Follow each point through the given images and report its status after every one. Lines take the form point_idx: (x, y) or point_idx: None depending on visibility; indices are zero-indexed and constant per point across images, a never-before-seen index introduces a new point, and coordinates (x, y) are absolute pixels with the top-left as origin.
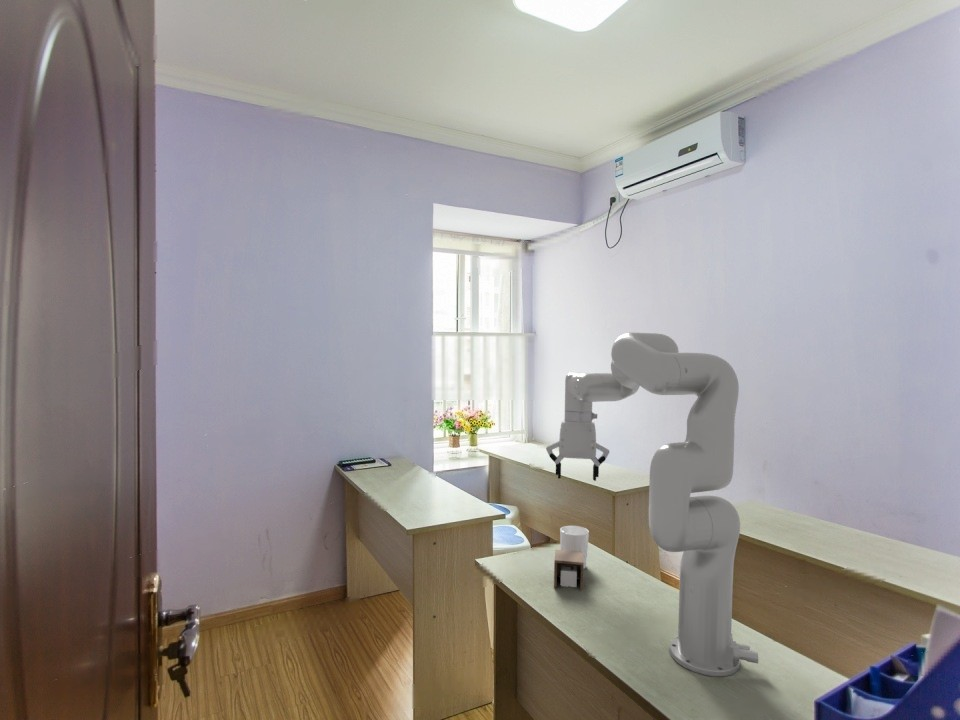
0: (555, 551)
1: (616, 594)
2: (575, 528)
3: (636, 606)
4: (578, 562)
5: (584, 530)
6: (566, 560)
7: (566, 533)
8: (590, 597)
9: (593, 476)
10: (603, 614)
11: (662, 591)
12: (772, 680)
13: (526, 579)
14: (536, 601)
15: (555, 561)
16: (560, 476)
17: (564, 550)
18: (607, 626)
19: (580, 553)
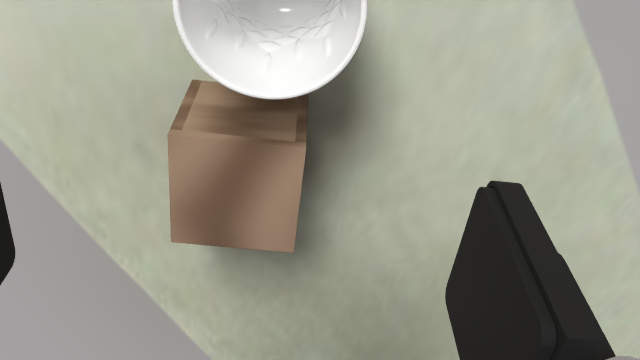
0: (169, 155)
1: (410, 201)
2: None
3: (449, 264)
4: (272, 249)
5: None
6: (222, 241)
7: (215, 79)
8: (316, 226)
9: (454, 332)
10: (337, 307)
11: (589, 168)
12: None
13: (80, 120)
14: (142, 261)
15: (176, 239)
16: (3, 277)
17: (214, 138)
18: (335, 351)
19: (291, 166)
